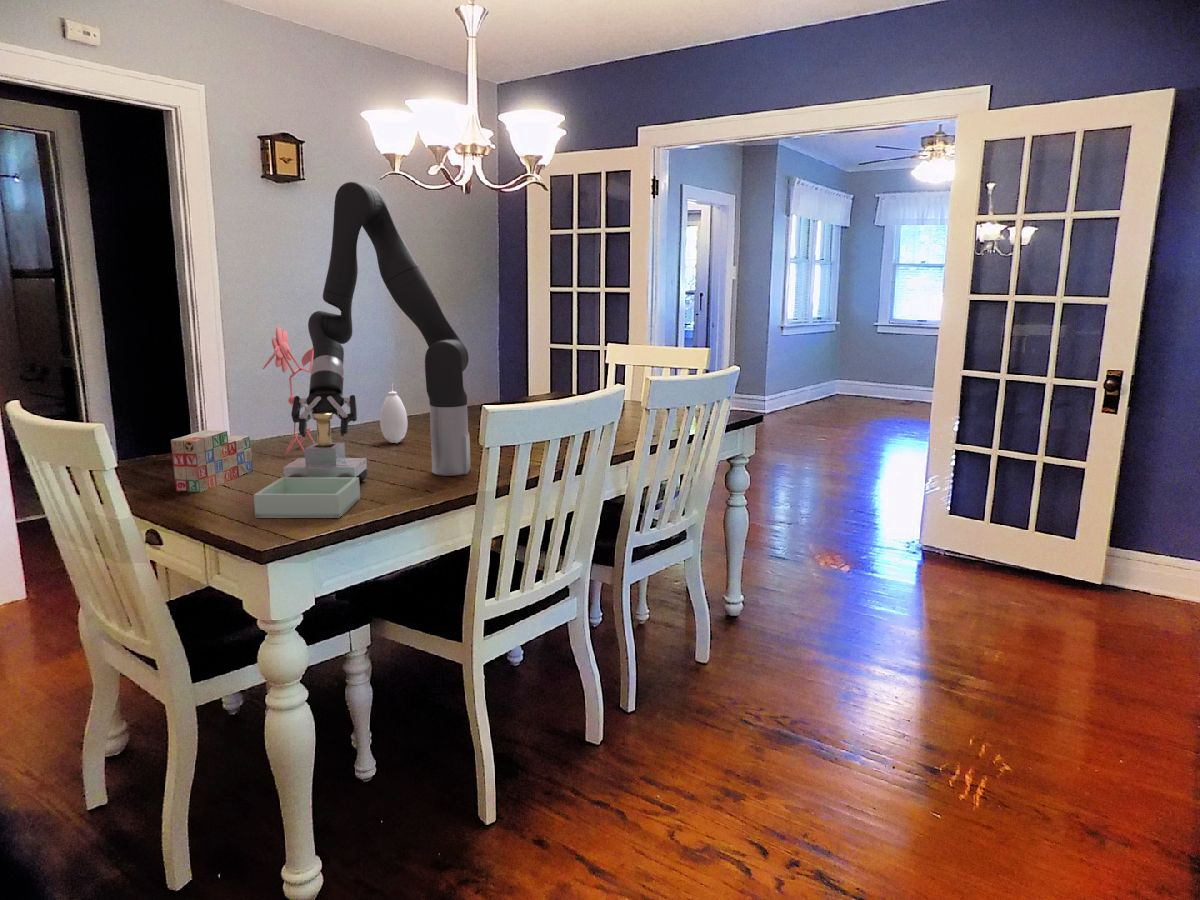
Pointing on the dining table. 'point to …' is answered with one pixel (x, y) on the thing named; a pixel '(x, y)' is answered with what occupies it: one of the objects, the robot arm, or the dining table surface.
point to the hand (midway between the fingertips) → (323, 434)
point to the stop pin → (323, 428)
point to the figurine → (282, 355)
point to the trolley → (327, 463)
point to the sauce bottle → (393, 418)
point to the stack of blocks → (209, 459)
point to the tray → (307, 497)
